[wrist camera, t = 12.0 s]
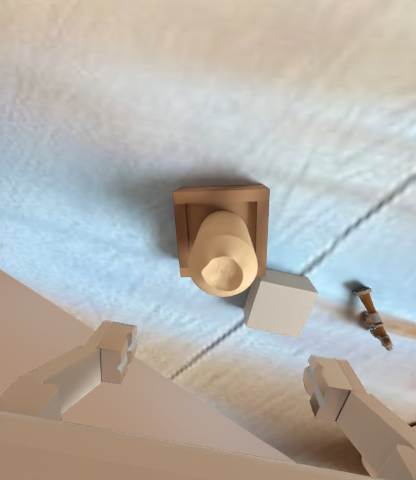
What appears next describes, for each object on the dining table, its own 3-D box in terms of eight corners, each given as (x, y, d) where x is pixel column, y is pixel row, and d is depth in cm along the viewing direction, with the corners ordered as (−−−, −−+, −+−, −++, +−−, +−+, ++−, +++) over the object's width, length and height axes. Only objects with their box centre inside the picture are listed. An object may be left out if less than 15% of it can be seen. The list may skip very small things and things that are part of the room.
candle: (193, 247, 27) (177, 296, 17) (207, 203, 25) (196, 231, 16) (237, 261, 27) (245, 316, 18) (254, 218, 25) (272, 254, 16)
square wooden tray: (263, 184, 27) (269, 189, 23) (260, 261, 30) (265, 276, 26) (179, 187, 28) (172, 192, 24) (186, 262, 31) (180, 276, 27)
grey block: (307, 276, 31) (318, 293, 27) (290, 317, 33) (298, 338, 29) (256, 265, 31) (260, 280, 27) (243, 307, 33) (245, 327, 29)
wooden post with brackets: (369, 341, 32) (386, 355, 28) (345, 287, 33) (357, 293, 29) (382, 337, 32) (401, 351, 28) (357, 283, 33) (372, 288, 29)
